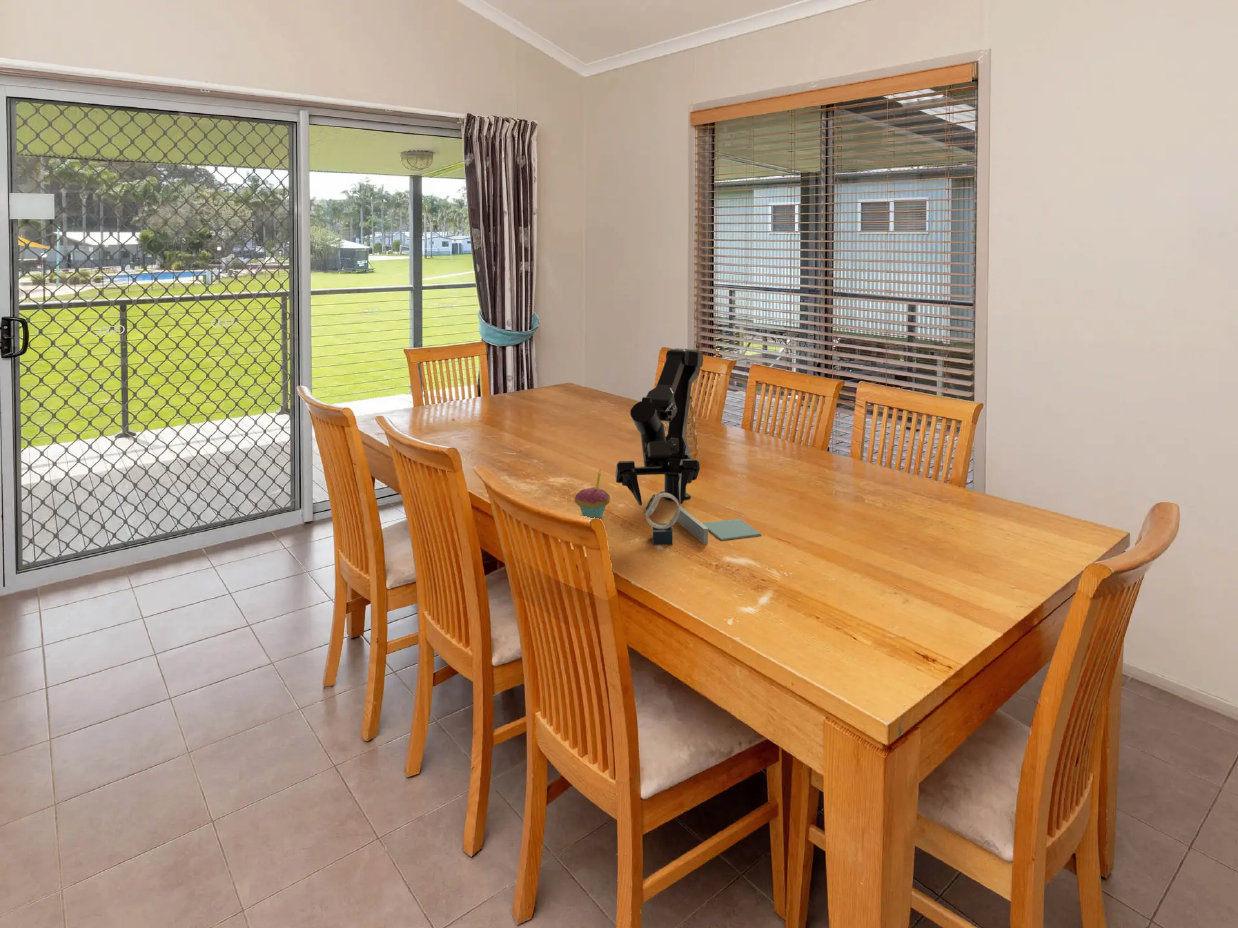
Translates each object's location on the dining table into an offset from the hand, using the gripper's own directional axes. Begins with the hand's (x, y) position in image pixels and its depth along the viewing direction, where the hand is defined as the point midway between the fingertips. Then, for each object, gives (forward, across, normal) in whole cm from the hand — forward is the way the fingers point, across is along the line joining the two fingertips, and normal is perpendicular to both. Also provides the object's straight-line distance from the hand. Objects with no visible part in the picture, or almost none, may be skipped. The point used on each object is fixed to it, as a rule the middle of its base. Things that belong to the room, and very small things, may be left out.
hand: (661, 503), depth 184 cm
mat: (+3, +17, +9) cm, 19 cm away
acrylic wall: (+3, +8, +9) cm, 12 cm away
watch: (+7, 0, +6) cm, 9 cm away
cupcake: (-6, -14, +19) cm, 24 cm away
